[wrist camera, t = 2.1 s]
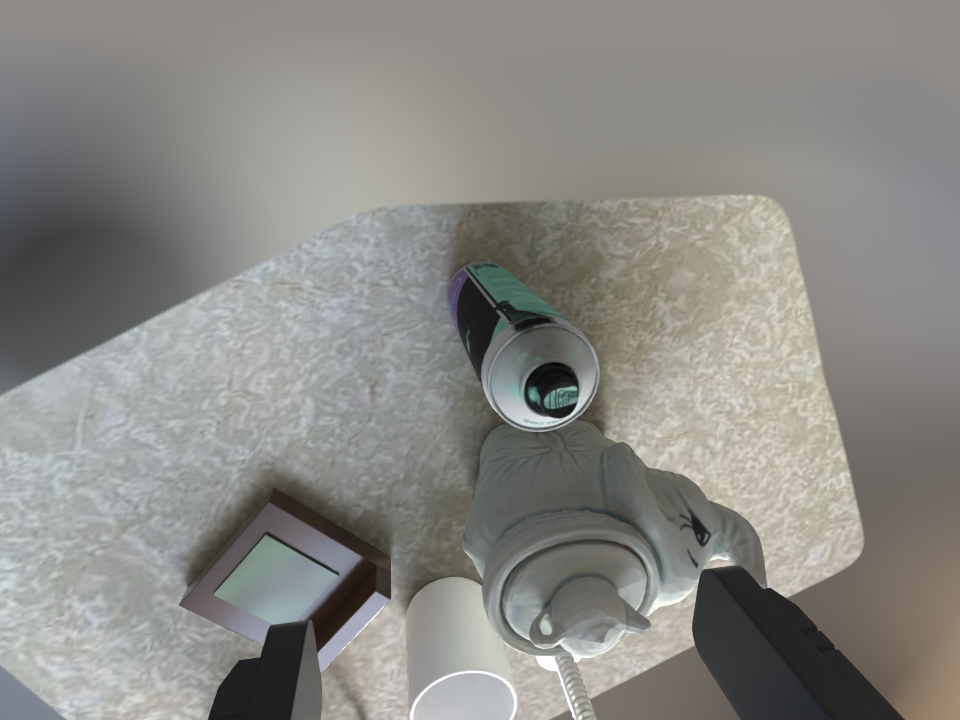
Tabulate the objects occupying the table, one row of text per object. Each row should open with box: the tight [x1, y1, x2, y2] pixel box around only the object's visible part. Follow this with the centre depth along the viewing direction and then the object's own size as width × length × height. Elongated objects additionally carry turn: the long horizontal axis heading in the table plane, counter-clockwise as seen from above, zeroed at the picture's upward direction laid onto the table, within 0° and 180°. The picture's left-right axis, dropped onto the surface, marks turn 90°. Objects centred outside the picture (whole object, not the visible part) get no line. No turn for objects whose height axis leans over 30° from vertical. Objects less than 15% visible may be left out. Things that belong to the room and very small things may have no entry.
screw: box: [536, 655, 597, 720], centre depth 47 cm, size 13×5×5 cm
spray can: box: [446, 261, 600, 432], centre depth 31 cm, size 6×6×20 cm
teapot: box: [460, 418, 767, 658], centre depth 38 cm, size 16×15×19 cm
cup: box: [406, 577, 517, 720], centre depth 46 cm, size 8×12×10 cm
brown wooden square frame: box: [179, 488, 391, 674], centre depth 44 cm, size 12×12×5 cm
